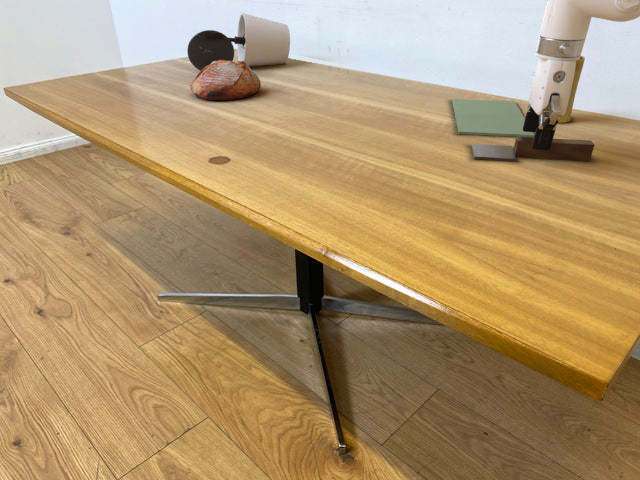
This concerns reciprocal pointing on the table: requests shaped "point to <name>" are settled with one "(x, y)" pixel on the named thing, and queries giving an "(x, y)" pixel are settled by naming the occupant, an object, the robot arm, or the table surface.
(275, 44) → the light fixture
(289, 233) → the table surface
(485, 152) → the spatula
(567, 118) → the vase
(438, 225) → the table surface
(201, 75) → the bread
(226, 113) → the table surface
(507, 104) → the mat
